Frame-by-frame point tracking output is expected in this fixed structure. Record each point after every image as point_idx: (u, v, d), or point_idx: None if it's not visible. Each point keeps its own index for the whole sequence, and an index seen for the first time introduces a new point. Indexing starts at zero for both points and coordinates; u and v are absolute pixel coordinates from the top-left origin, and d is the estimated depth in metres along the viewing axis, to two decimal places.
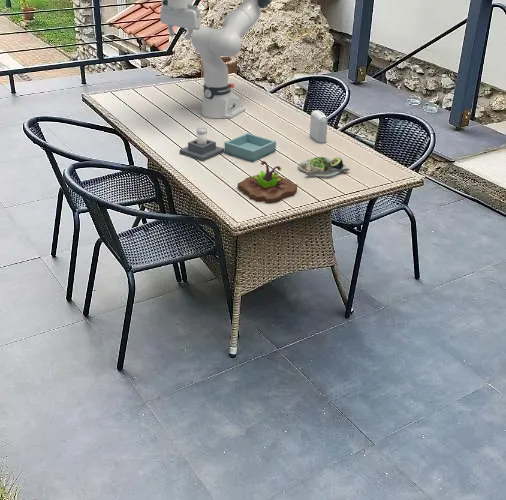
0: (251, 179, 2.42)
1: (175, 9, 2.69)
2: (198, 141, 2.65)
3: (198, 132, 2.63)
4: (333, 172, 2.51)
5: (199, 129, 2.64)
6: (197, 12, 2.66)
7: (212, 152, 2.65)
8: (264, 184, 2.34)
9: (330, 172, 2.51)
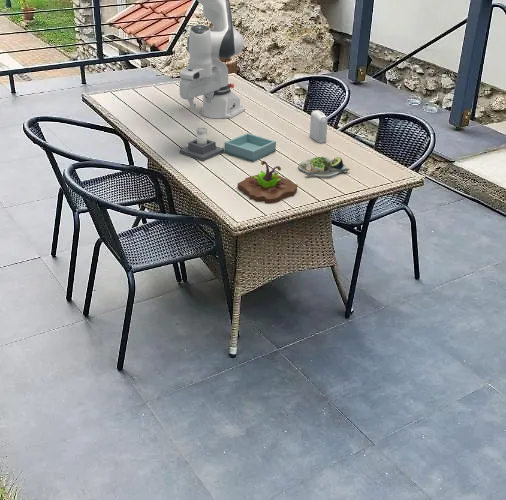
0: (251, 179, 2.42)
1: (206, 77, 2.51)
2: (198, 141, 2.65)
3: (198, 132, 2.63)
4: (333, 172, 2.51)
5: (199, 129, 2.64)
6: (218, 71, 2.59)
7: (212, 152, 2.65)
8: (264, 184, 2.34)
9: (330, 172, 2.51)
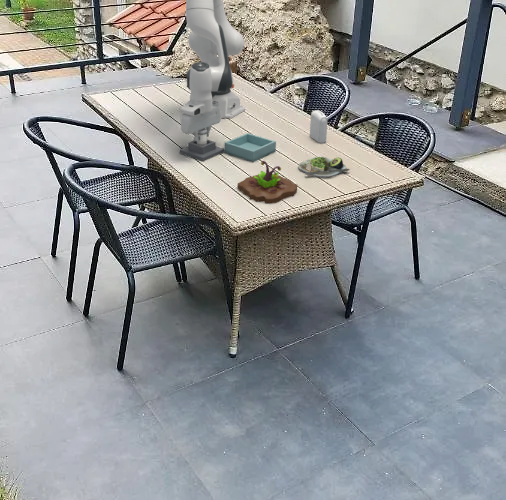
0: (251, 179, 2.42)
1: (207, 112, 2.58)
2: (198, 141, 2.65)
3: (198, 132, 2.63)
4: (333, 172, 2.51)
5: None
6: (218, 105, 2.66)
7: (212, 152, 2.65)
8: (264, 184, 2.34)
9: (330, 172, 2.51)
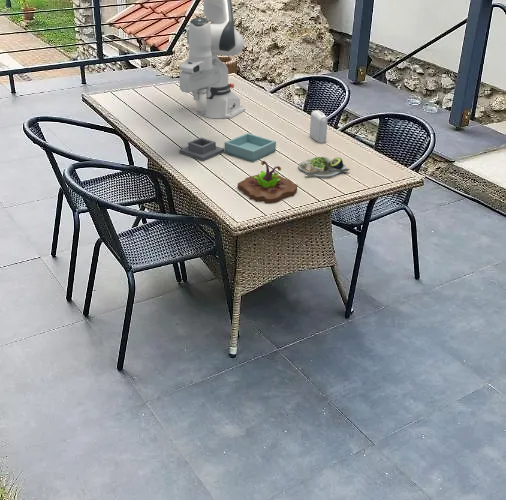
0: (251, 179, 2.42)
1: (206, 70, 2.50)
2: (197, 101, 2.56)
3: None
4: (333, 172, 2.51)
5: None
6: (218, 64, 2.58)
7: (212, 152, 2.65)
8: (264, 184, 2.34)
9: (330, 172, 2.51)
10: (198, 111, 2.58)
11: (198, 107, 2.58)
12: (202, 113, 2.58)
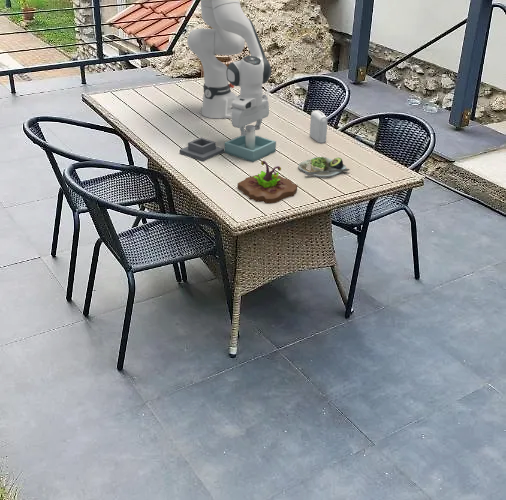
0: (251, 179, 2.42)
1: (257, 106, 2.59)
2: (247, 138, 2.66)
3: (247, 129, 2.64)
4: (333, 172, 2.51)
5: (248, 126, 2.65)
6: (266, 99, 2.67)
7: (212, 152, 2.65)
8: (264, 184, 2.34)
9: (330, 172, 2.51)
10: (247, 148, 2.68)
11: (247, 144, 2.67)
12: (251, 149, 2.68)
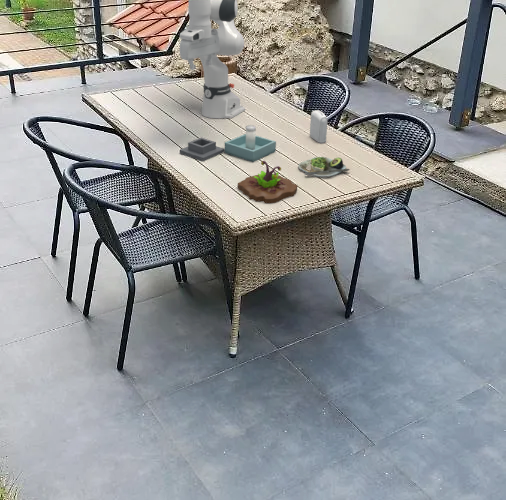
0: (251, 179, 2.42)
1: (206, 39, 2.58)
2: (247, 138, 2.66)
3: (247, 129, 2.64)
4: (333, 172, 2.51)
5: (248, 126, 2.65)
6: (217, 34, 2.67)
7: (212, 152, 2.65)
8: (264, 184, 2.34)
9: (330, 172, 2.51)
10: (247, 148, 2.68)
11: (247, 144, 2.67)
12: None
